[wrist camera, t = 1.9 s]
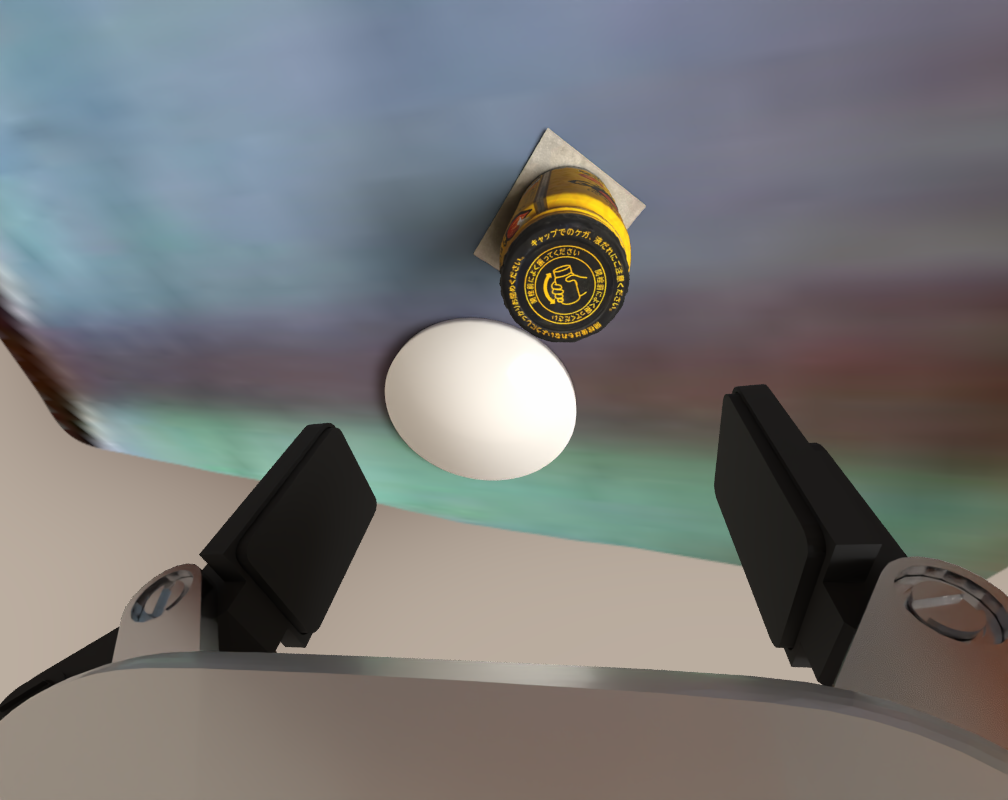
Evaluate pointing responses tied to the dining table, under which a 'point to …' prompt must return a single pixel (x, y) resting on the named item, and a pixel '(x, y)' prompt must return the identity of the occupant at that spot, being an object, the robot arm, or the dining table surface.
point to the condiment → (562, 244)
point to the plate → (481, 399)
